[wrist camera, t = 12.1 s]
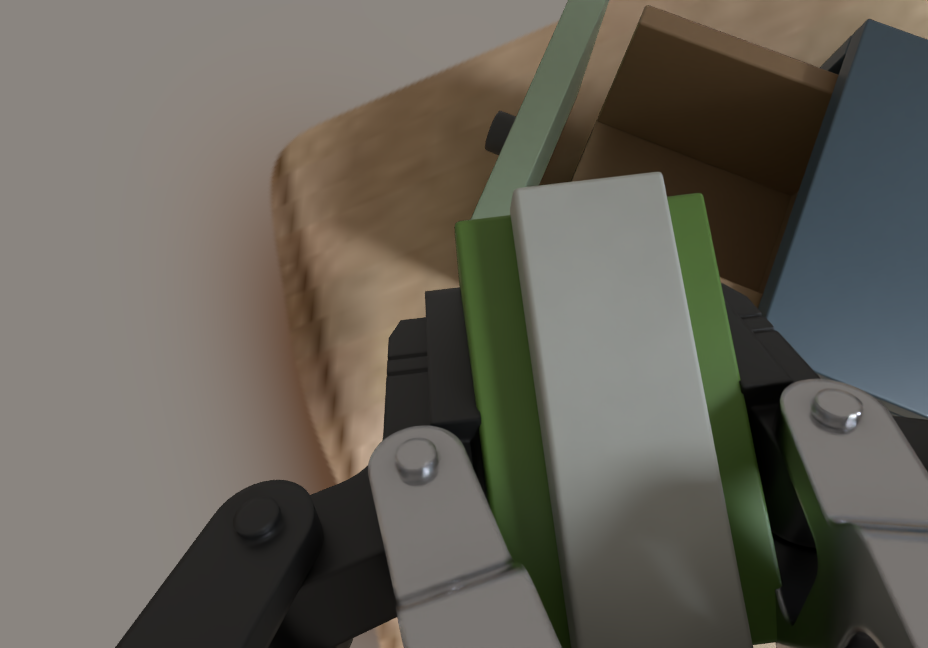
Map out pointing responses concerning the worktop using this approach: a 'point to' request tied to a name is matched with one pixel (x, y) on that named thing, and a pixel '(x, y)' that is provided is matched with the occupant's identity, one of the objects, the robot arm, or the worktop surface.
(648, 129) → the drawer
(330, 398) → the worktop surface
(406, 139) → the worktop surface
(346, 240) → the worktop surface
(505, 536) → the green white block
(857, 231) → the cabinet
